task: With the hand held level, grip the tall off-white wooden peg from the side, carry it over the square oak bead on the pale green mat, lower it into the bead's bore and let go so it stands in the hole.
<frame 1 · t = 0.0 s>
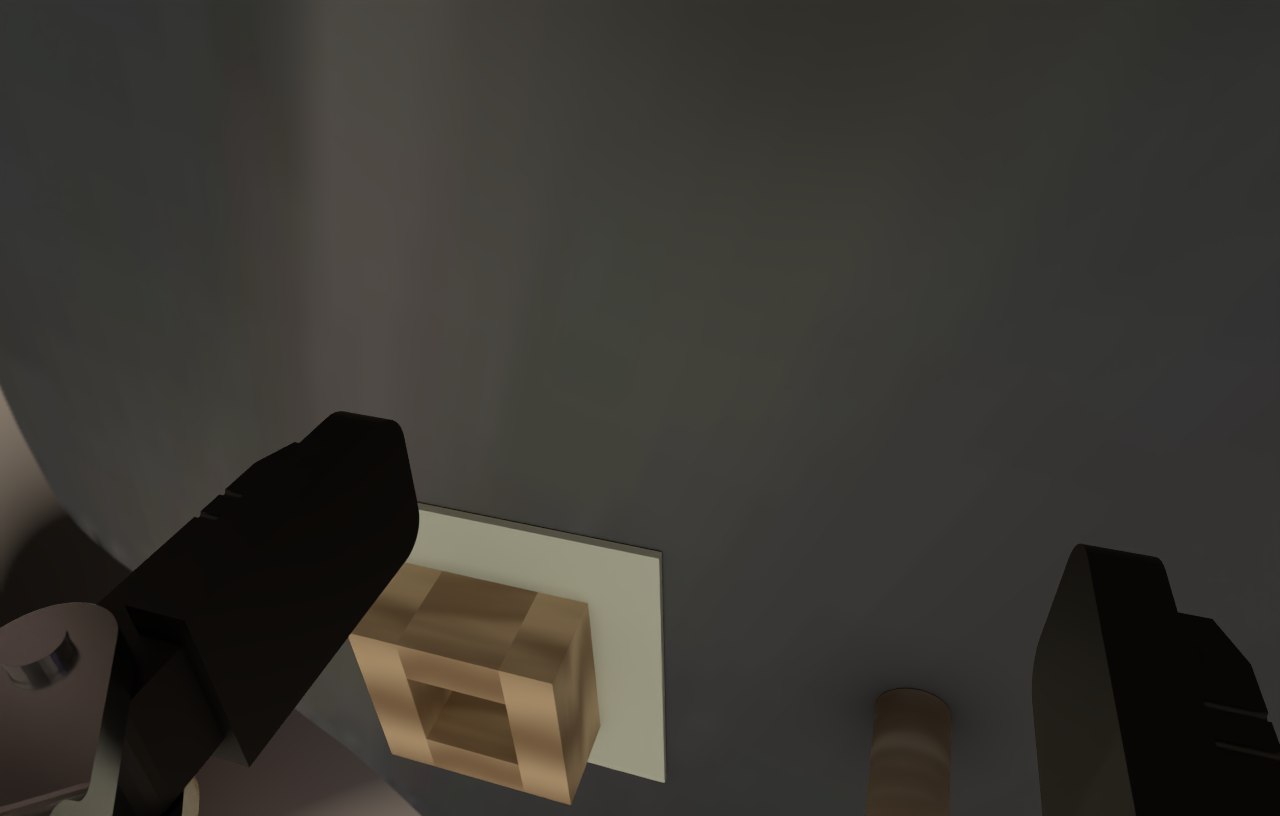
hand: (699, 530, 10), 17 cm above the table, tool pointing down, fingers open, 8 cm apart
mat: (523, 644, 44), on the table
bead: (502, 646, 44), resting on mat
peg: (913, 711, 38), on the table
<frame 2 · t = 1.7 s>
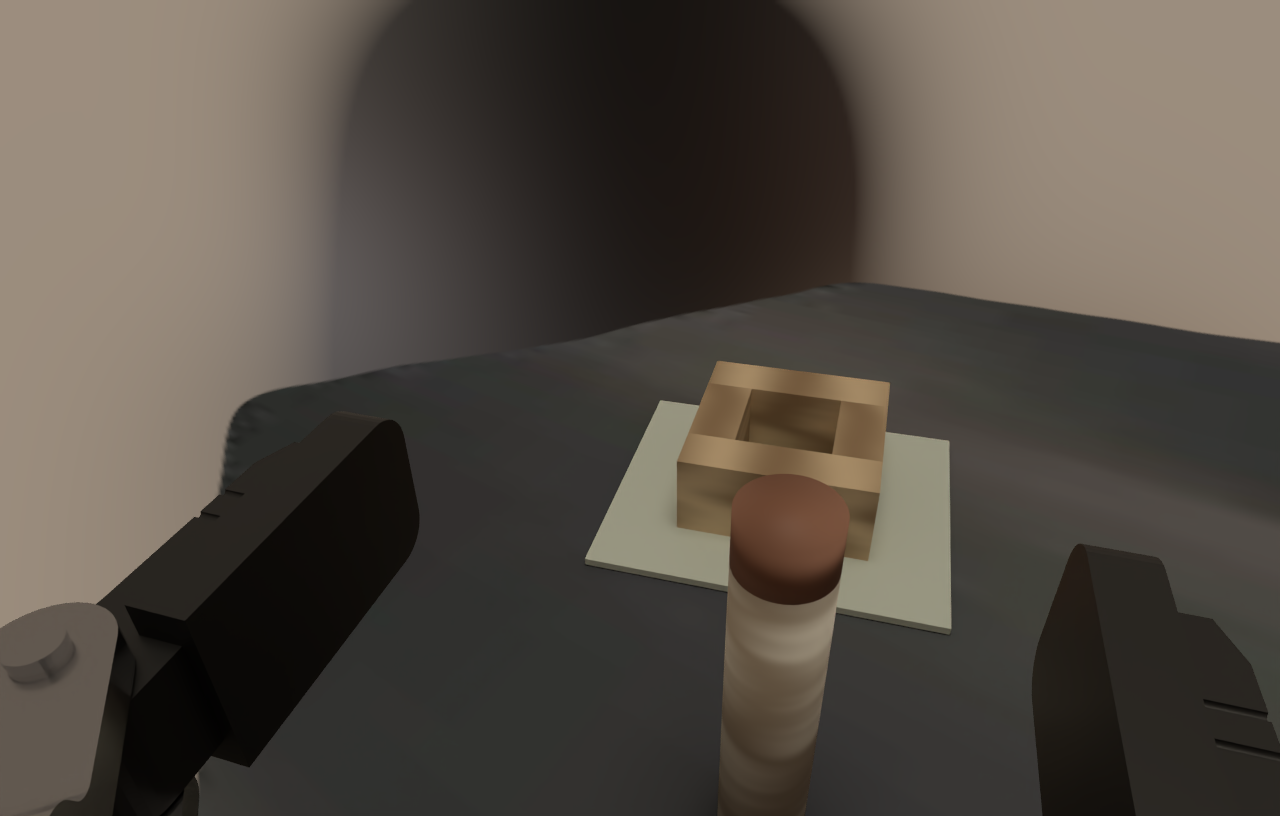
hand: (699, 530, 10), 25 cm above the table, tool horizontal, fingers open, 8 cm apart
mat: (780, 500, 48), on the table
bead: (783, 484, 48), resting on mat
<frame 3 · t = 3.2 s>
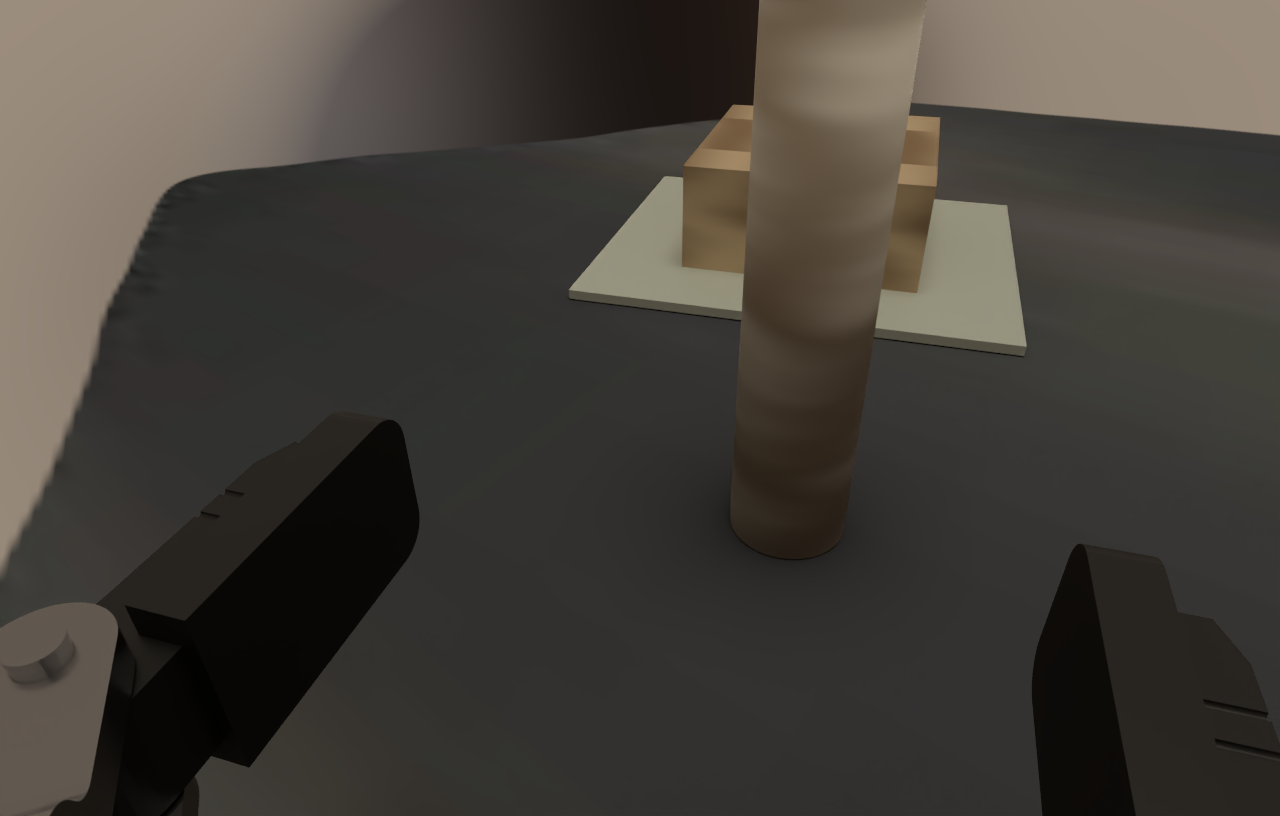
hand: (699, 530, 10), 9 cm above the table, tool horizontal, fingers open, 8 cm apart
mat: (807, 251, 40), on the table
bead: (811, 235, 40), resting on mat
peg: (786, 519, 24), on the table
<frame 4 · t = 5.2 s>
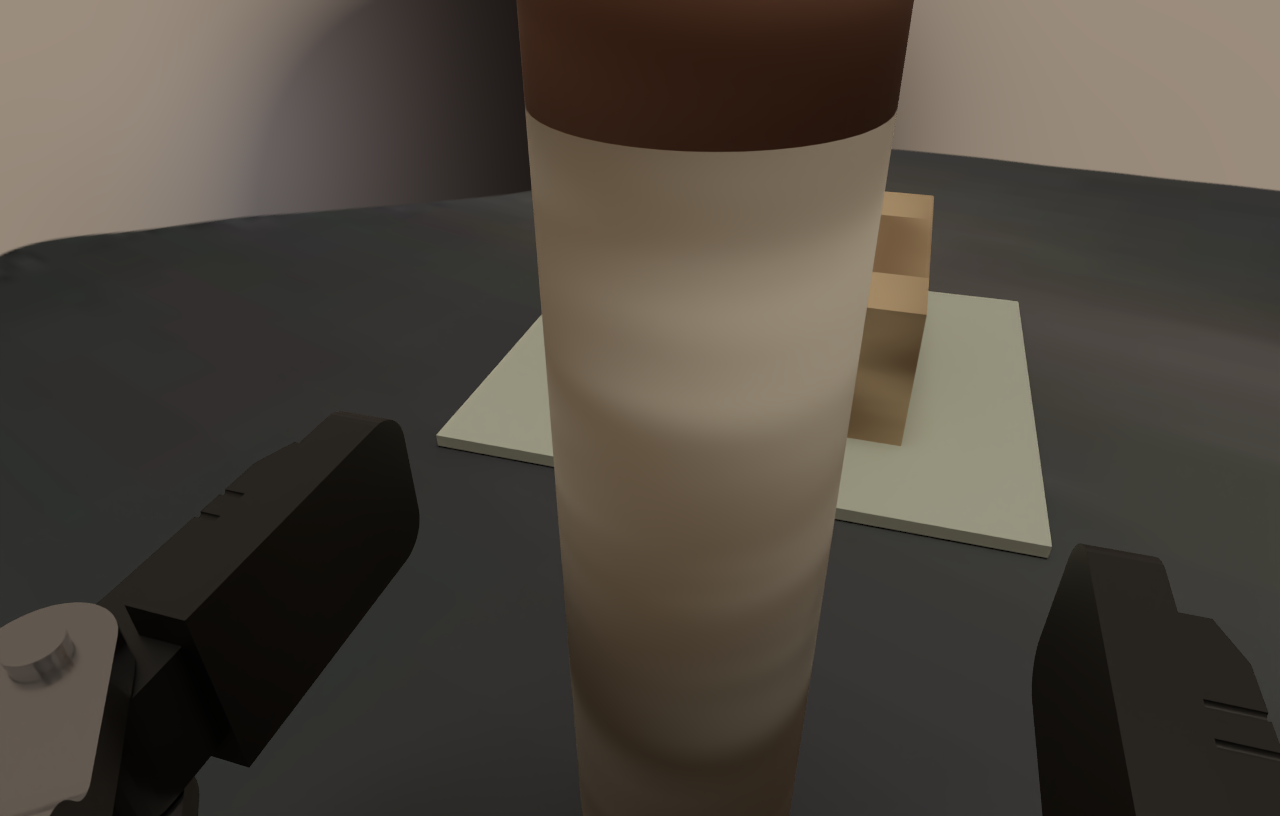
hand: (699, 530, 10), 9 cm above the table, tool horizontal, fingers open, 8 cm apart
mat: (761, 369, 31), on the table
bead: (767, 347, 31), resting on mat
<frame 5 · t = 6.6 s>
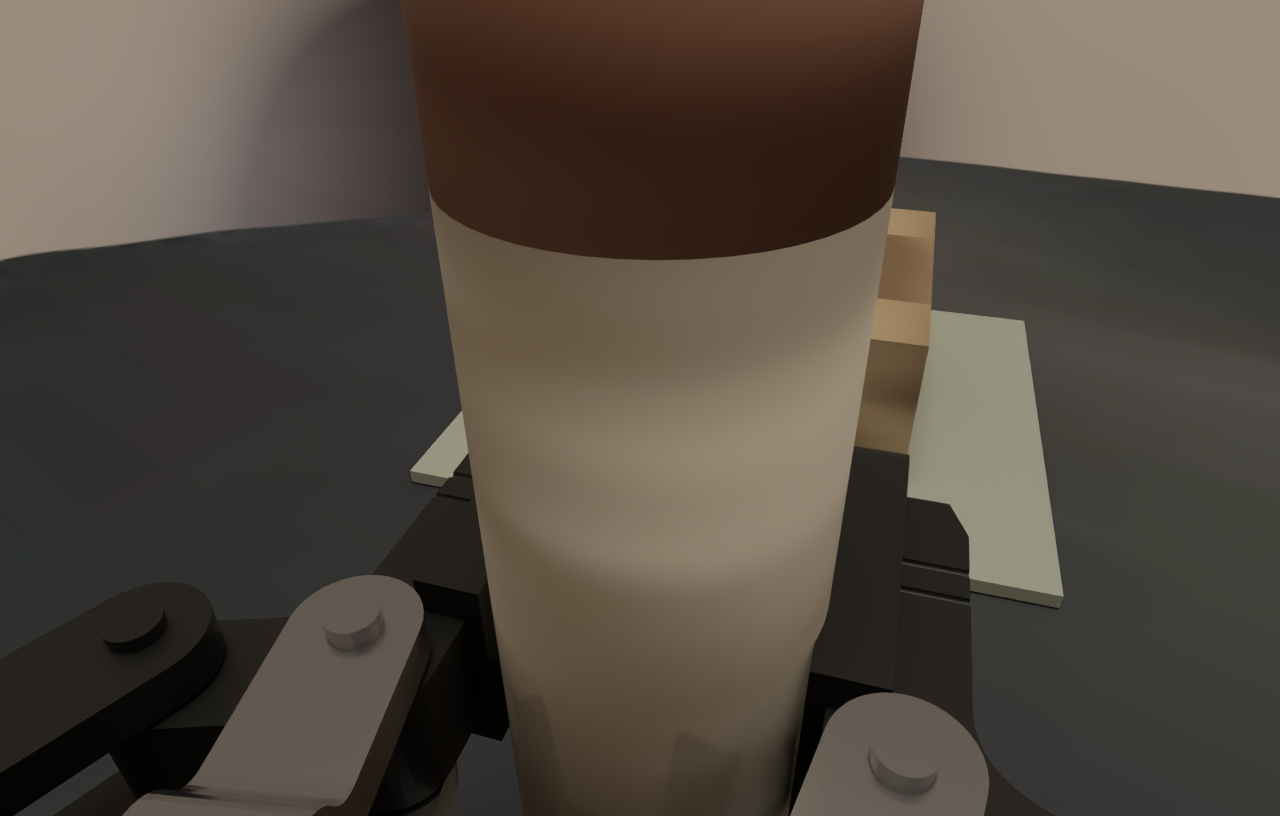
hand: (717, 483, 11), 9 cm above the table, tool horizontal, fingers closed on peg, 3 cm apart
mat: (755, 396, 29), on the table
bead: (761, 371, 30), resting on mat
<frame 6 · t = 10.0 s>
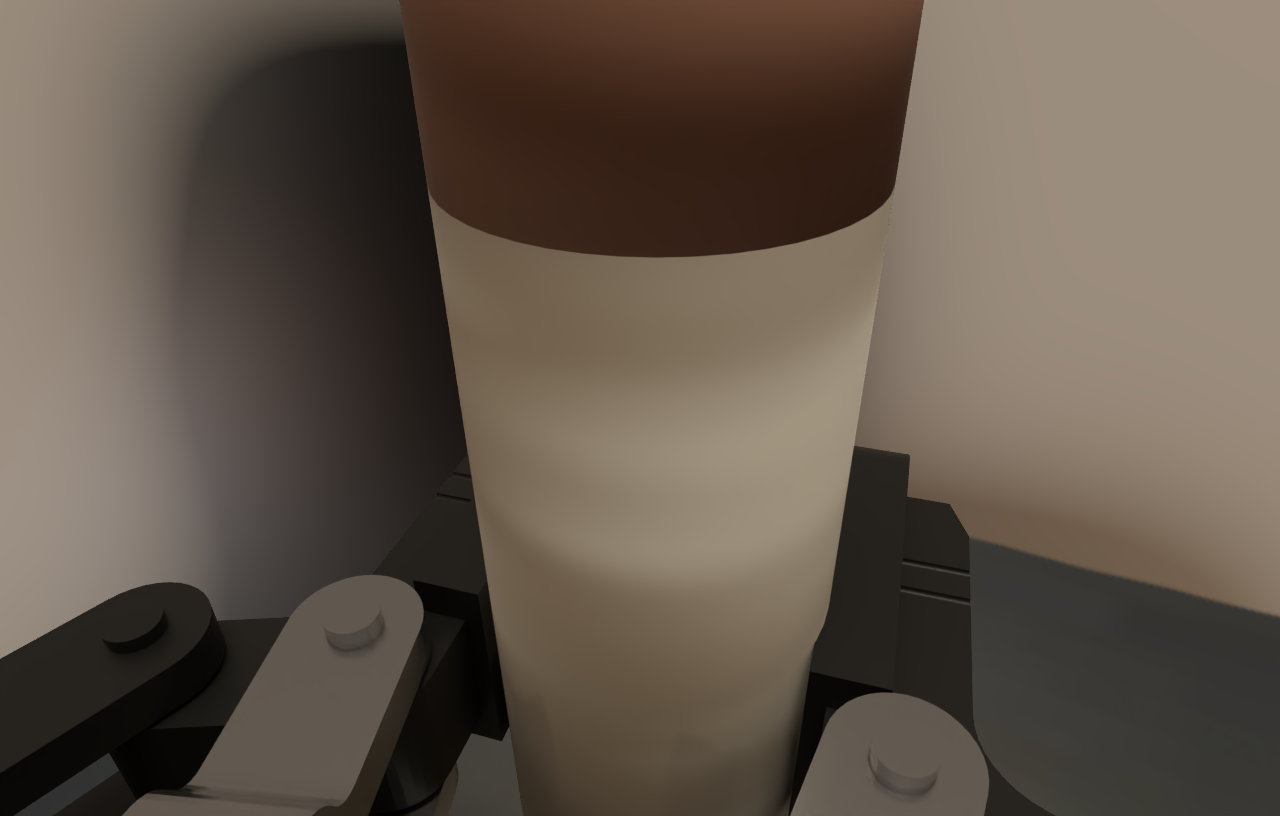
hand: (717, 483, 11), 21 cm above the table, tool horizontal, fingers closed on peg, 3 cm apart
when the fingers open (12 cm above the table, at t = 12.1 s): peg drops 2 cm, resting on mat.
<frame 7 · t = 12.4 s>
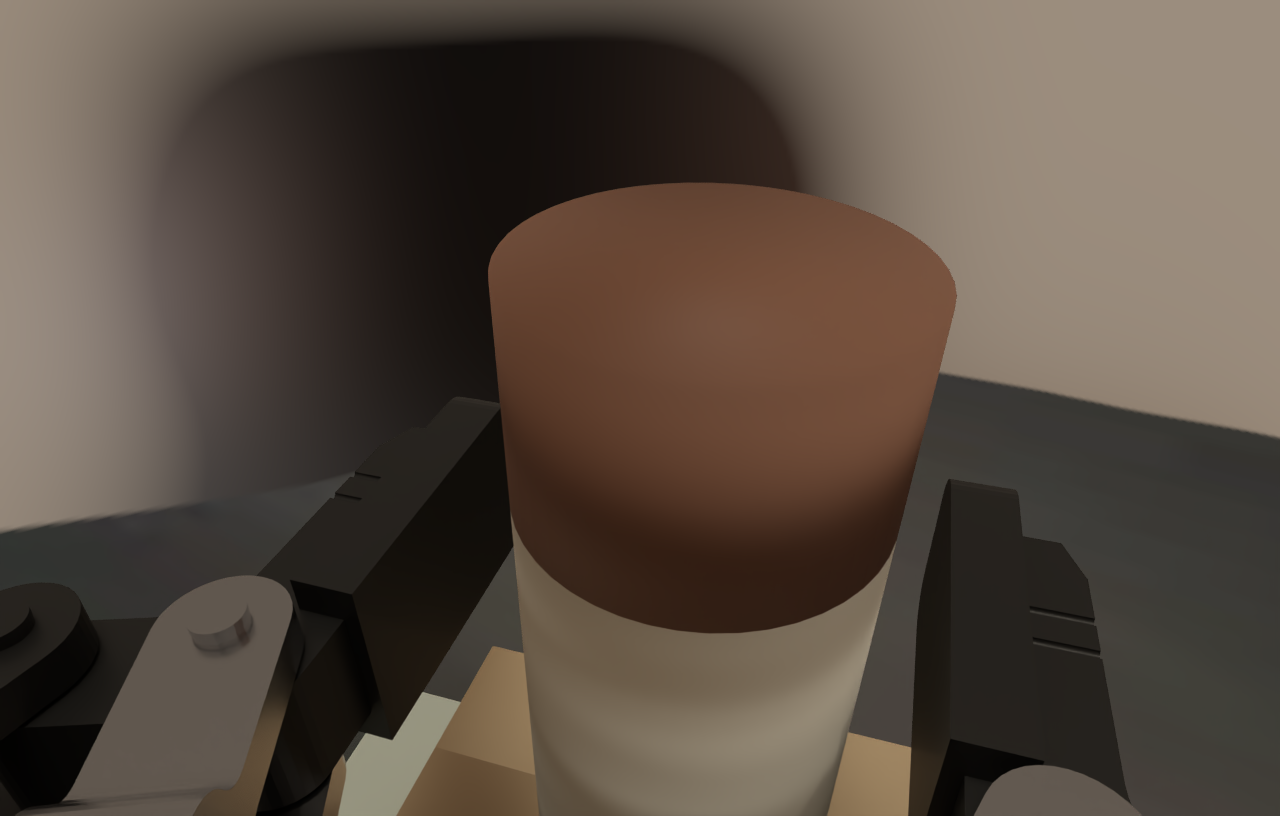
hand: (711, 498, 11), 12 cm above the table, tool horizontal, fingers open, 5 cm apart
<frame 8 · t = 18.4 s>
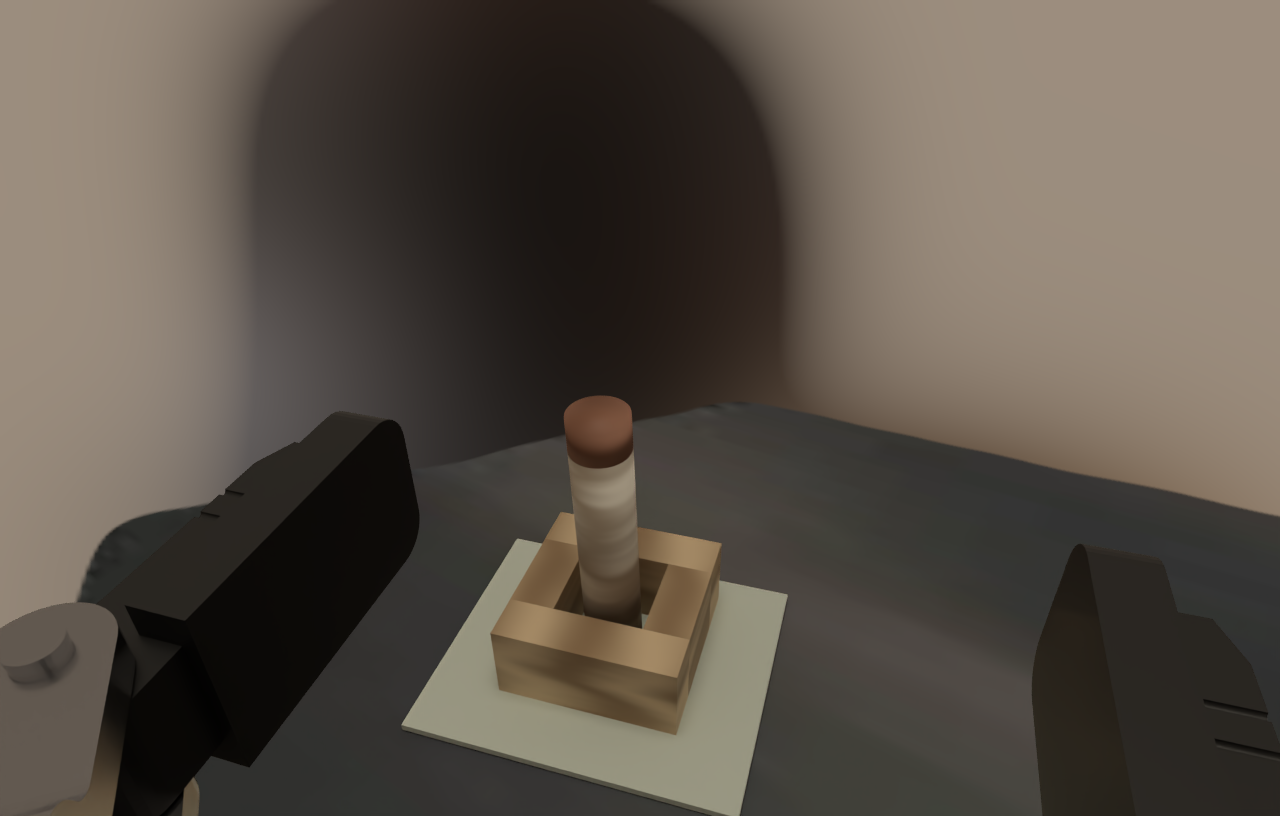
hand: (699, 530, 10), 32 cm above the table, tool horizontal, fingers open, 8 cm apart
mat: (609, 659, 49), on the table
bead: (614, 641, 49), resting on mat
peg: (615, 642, 49), resting on mat
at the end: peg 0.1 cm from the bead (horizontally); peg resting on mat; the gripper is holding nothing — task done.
